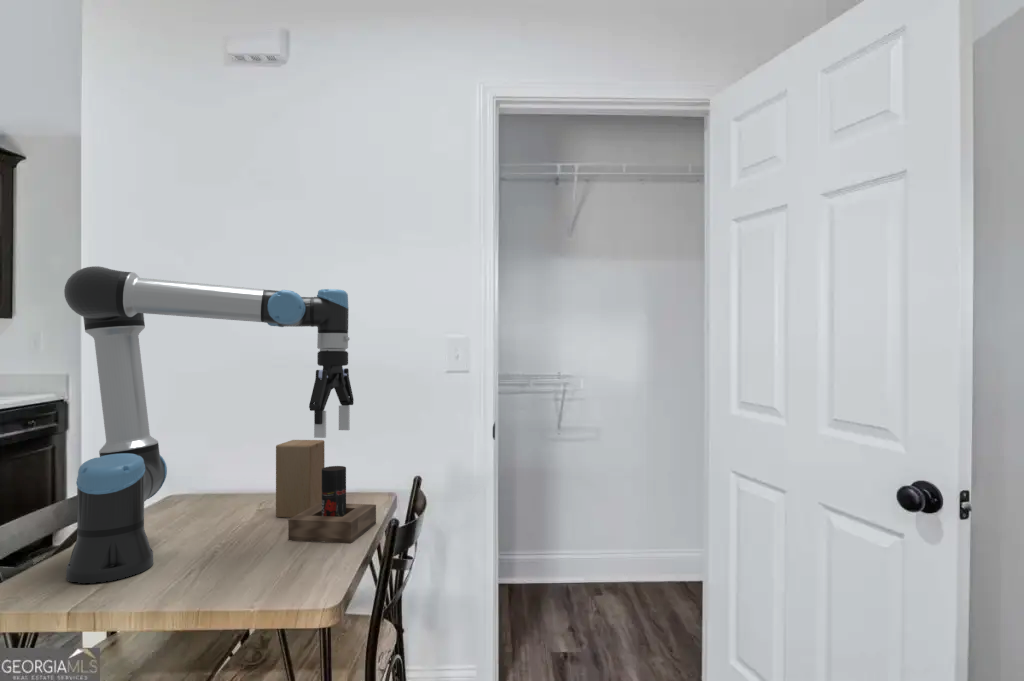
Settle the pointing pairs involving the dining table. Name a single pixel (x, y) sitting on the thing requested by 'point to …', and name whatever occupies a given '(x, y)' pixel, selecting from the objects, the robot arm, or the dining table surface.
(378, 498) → the dining table surface
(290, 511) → the wooden block
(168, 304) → the robot arm
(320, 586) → the dining table surface
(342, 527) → the socket block
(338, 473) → the deodorant
